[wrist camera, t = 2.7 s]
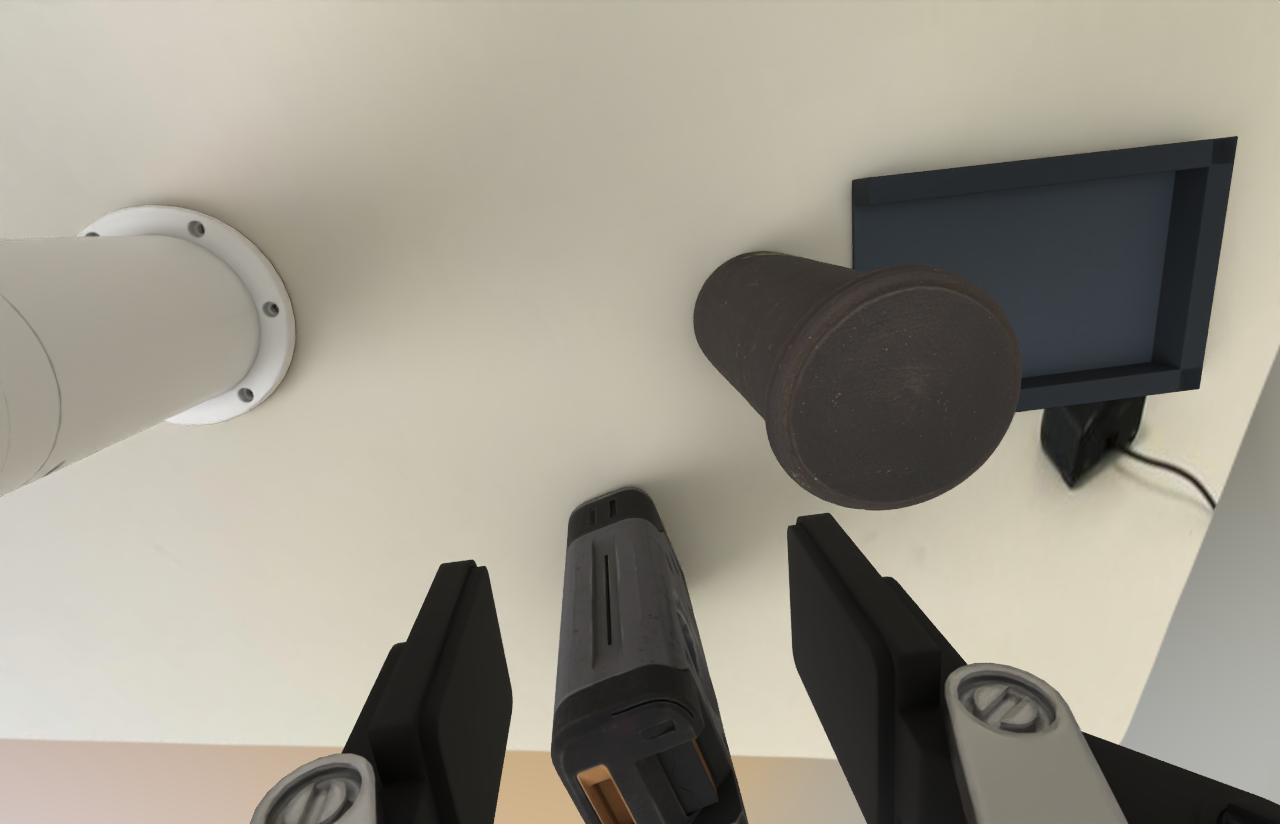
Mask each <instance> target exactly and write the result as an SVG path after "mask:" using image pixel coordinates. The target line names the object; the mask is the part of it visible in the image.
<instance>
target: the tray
mask: <svg viewBox="0 0 1280 824" xmlns="http://www.w3.org/2000/svg"><path fill="white" fill-rule="evenodd" d="M1237 139H1238V137H1237V136H1235V137H1226V138H1217V139H1208V140H1199V141H1190V142H1181V143H1172V144H1163V145H1154V146H1145V147H1137V148H1128V149H1119V150H1110V151H1101V152H1092V153H1083V154H1074V155H1065V156H1056V157H1047V158H1039V159H1030V160H1021V161H1012V162H1003V163H994V164H985V165H976V166H967V167H958V168H949V169H940V170H932V171H923V172H914V173H905V174H896V175H887V176H878V177H869V178H863V179H857V180H852V224H853V269H854V270H857V271H861V272H866V273H868V272H871V271H874V270H878V269H882V268H886V267H892V266H900V265H925V266H932V267H937V268H942V269H945V270H948V271H952V272H954V273H956V274H959V275H961V276H963V277H965V278H967V279H969V280H970V281H971V282H973V283H975V284H976V285H978V286H979V287H980V288H982V289H983V290H984V291H986V292H987V293H988V294H989V295H990V296H991V297H992V298H993V299H994V300H995V301H996V302H997V303H998V305H999V306H1000V307H1001V308H1002V310H1003V311H1004V313H1005V314H1006V316H1007V318H1008V320H1009V322H1010V323H1011V325H1012V328H1013V330H1014V332H1015V335H1016V339H1017V342H1018V345H1019V350H1020V355H1021V366H1022V376H1021V389H1020V395H1019V400H1018V404H1017V407H1016V410H1015V412H1021V411H1029V410H1037V409H1045V408H1053V407H1061V406H1068V405H1076V404H1084V403H1092V402H1100V401H1108V400H1116V399H1124V398H1131V397H1139V396H1147V395H1155V394H1163V393H1171V392H1179V391H1187V390H1194V389H1199V388H1200V381H1201V375H1202V368H1203V361H1204V355H1205V348H1206V342H1207V335H1208V329H1209V322H1210V315H1211V309H1212V302H1213V296H1214V289H1215V283H1216V276H1217V270H1218V263H1219V257H1220V250H1221V244H1222V237H1223V231H1224V224H1225V217H1226V211H1227V204H1228V198H1229V191H1230V185H1231V178H1232V172H1233V165H1234V159H1235V152H1236V146H1237Z"/></svg>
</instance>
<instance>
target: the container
mask: <svg viewBox="0 0 1280 824" xmlns="http://www.w3.org/2000/svg"><path fill="white" fill-rule="evenodd" d="M694 330H695V335H696V338H697V341H698V344H699V346H700V348H701V349H702V351H703V353H704V354H705V356H706V357H707V358H708V360H709V361H710V362H711V363H712V365H713V366H714V367H715V368H716V369H717V370H718V371H719V372H720V373H721V374H722V375H723V376H724V377H725V378H726V379H727V380H728V381H729V382H730V383H731V384H732V385H733V386H734V387H735V388H736V389H737V391H738V392H739V393H740V394H741V395H742V396H743V397H744V398H745V399H746V400H747V401H748V402H749V404H750V405H751V406H752V407H753V408H754V409H755V410H756V411H757V412H758V413H759V414H760V415H761V417H762V418H763V419H764V420H765V423H766V430H767V435H768V439H769V442H770V446H771V448H772V451H773V453H774V455H775V457H776V458H777V460H778V462H779V463H780V465H781V466H782V468H783V469H784V470H785V471H786V473H787V474H788V475H789V476H790V477H791V478H792V479H793V480H794V481H795V482H796V483H797V484H799V485H800V486H801V487H802V488H804V489H805V490H807V491H808V492H810V493H811V494H813V495H815V496H817V497H819V498H820V499H822V500H825V501H828V502H830V503H833V504H836V505H839V506H843V507H848V508H854V509H865V510H891V509H899V508H904V507H908V506H912V505H916V504H919V503H922V502H925V501H928V500H930V499H933V498H935V497H937V496H939V495H941V494H943V493H945V492H947V491H949V490H951V489H952V488H954V487H955V486H957V485H959V484H960V483H961V482H963V481H964V480H966V479H967V478H968V477H969V476H971V475H972V474H973V473H974V472H975V471H977V470H978V469H979V468H980V467H981V466H982V465H983V464H984V463H985V461H986V460H987V459H988V458H989V457H990V456H991V454H992V453H993V452H994V451H995V449H996V448H997V446H998V445H999V443H1000V442H1001V440H1002V438H1003V437H1004V435H1005V433H1006V431H1007V430H1008V428H1009V426H1010V423H1011V421H1012V419H1013V416H1014V413H1015V410H1016V407H1017V404H1018V400H1019V395H1020V389H1021V376H1022V366H1021V355H1020V350H1019V345H1018V342H1017V339H1016V335H1015V332H1014V330H1013V328H1012V325H1011V323H1010V322H1009V320H1008V318H1007V316H1006V314H1005V313H1004V311H1003V310H1002V308H1001V307H1000V306H999V305H998V303H997V302H996V301H995V300H994V299H993V298H992V297H991V296H990V295H989V294H988V293H987V292H986V291H984V290H983V289H982V288H980V287H979V286H978V285H976V284H975V283H973V282H971V281H970V280H969V279H967V278H965V277H963V276H961V275H959V274H956V273H954V272H952V271H948V270H945V269H942V268H937V267H932V266H925V265H900V266H892V267H886V268H882V269H878V270H874V271H871V272H868V273H866V272H861V271H857V270H854V269H850V268H846V267H842V266H837V265H832V264H828V263H823V262H819V261H814V260H811V259H806V258H803V257H797V256H793V255H788V254H783V253H778V252H767V251H760V252H751V253H746V254H742V255H739V256H736V257H734V258H732V259H730V260H728V261H727V262H725V263H724V264H722V265H721V266H720V267H719V268H717V269H716V270H715V271H714V272H713V273H712V274H711V275H710V277H709V278H708V279H707V280H706V282H705V283H704V285H703V287H702V289H701V290H700V293H699V295H698V298H697V300H696V304H695V309H694Z"/></svg>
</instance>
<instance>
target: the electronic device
mask: <svg viewBox="0 0 1280 824" xmlns="http://www.w3.org/2000/svg"><path fill="white" fill-rule="evenodd" d="M551 758H552V762H553V765H554V767H555V769H556V771H557V773H558V775H559V777H560V778H561V780H562V782H563V784H564V786H565V788H566V789H567V791H568V793H569V795H570V796H571V798H572V800H573V802H574V804H575V805H576V807H577V809H578V811H579V813H580V815H581V816H582V818H583V820H584V822H585V823H586V824H748V820H747V816H746V812H745V809H744V805H743V801H742V797H741V793H740V789H739V785H738V781H737V778H736V774H735V771H734V768H733V763H732V760H731V756H730V752H729V748H728V745H727V741H726V737H725V733H724V729H723V725H722V721H721V716H720V712H719V708H718V703H717V699H716V695H715V692H714V689H713V685H712V682H711V678H710V675H709V671H708V667H707V663H706V659H705V655H704V651H703V647H702V643H701V639H700V635H699V631H698V628H697V624H696V620H695V617H694V613H693V609H692V605H691V601H690V597H689V593H688V589H687V586H686V582H685V578H684V575H683V571H682V569H681V567H680V564H679V562H678V560H677V557H676V555H675V553H674V550H673V548H672V546H671V543H670V541H669V539H668V536H667V534H666V531H665V529H664V527H663V524H662V522H661V520H660V517H659V515H658V513H657V510H656V508H655V506H654V503H653V502H652V500H651V498H650V497H649V496H648V495H647V494H646V493H645V492H644V491H642V490H640V489H637V488H632V487H631V488H623V489H620V490H617V491H614V492H612V493H609V494H607V495H604V496H602V497H599V498H597V499H594V500H592V501H589V502H587V503H584V504H582V505H580V506H579V507H577V508H576V509H575V510H574V511H573V512H572V514H571V516H570V518H569V525H568V537H567V551H566V563H565V576H564V589H563V602H562V614H561V627H560V640H559V653H558V666H557V679H556V692H555V705H554V719H553V731H552V743H551Z"/></svg>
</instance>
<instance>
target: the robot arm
mask: <svg viewBox="0 0 1280 824" xmlns="http://www.w3.org/2000/svg"><path fill="white" fill-rule="evenodd" d="M202 226H204V228H205V233H204V232H203V231H202ZM275 304H276V305H277V307H278V308H279V312H277V311H276V310H275V308H274V305H275ZM294 345H295V320H294V315H293V310H292V306H291V301H290V299H289V296H288V294H287V291H286V289H285V287H284V284H283V282H282V280H281V278H280V277H279V275H278V274H277V272H276V271H275V269H274V267H273V266H272V264H271V263H270V261H269V260H268V259H267V258H266V257H265V256H264V255H263V254H262V253H261V251H260V250H259V249H258V248H257V247H256V246H255V245H254V244H253V243H252V242H251V241H249V240H248V239H247V238H246V237H244V236H243V235H242V234H241V233H239V232H238V231H237V230H236V229H234V228H232V227H230V226H228V225H227V224H225V223H223V222H221V221H220V220H218V219H216V218H214V217H211V216H208V215H206V214H203V213H200V212H197V211H195V210H191V209H186V208H180V207H174V206H162V205H143V206H134V207H125V208H122V209H119V210H116V211H113V212H110V213H107V214H105V215H103V216H101V217H100V218H98V219H96V220H95V221H93V222H91V223H90V224H88V225H87V226H86V227H85V228H84V229H83V230H82V231H81V232H79V233H78V234H77V235H76V236H75V237H61V238H27V239H0V497H1V496H3V495H5V494H7V493H9V492H11V491H14V490H16V489H18V488H20V487H22V486H24V485H27V484H29V483H31V482H33V481H35V480H37V479H40V478H42V477H44V476H46V475H48V474H50V473H52V472H55V471H57V470H59V469H61V468H63V467H65V466H68V465H70V464H72V463H74V462H76V461H78V460H81V459H83V458H85V457H87V456H89V455H91V454H93V453H96V452H98V451H100V450H102V449H104V448H106V447H109V446H111V445H113V444H115V443H117V442H119V441H122V440H124V439H126V438H128V437H130V436H132V435H134V434H137V433H139V432H141V431H143V430H145V429H147V428H150V427H152V426H154V425H156V424H158V423H160V422H165V423H172V424H179V425H186V426H190V425H210V424H214V423H219V422H224V421H228V420H230V419H232V418H235V417H237V416H239V415H242V414H244V413H246V412H248V411H249V410H251V409H253V408H254V407H256V406H258V405H259V404H261V403H262V402H263V401H264V400H265V399H266V398H267V397H269V396H270V395H271V394H272V393H273V392H274V391H275V389H276V388H277V387H278V385H279V384H280V383H281V381H282V380H283V378H284V377H285V375H286V372H287V370H288V368H289V365H290V363H291V361H292V356H293V351H294ZM250 390H251V391H252V392H253V394H254V395H253V394H251V393H250ZM787 541H788V563H789V585H790V607H791V629H792V650H793V657H794V661H795V665H796V668H797V671H798V673H799V675H800V678H801V680H802V682H803V684H804V686H805V688H806V691H807V693H808V695H809V697H810V699H811V702H812V704H813V706H814V708H815V710H816V713H817V715H818V717H819V719H820V721H821V724H822V726H823V728H824V730H825V732H826V735H827V737H828V739H829V741H830V743H831V745H832V748H833V750H834V752H835V754H836V756H837V759H838V761H839V763H840V765H841V767H842V770H843V772H844V774H845V776H846V778H847V781H848V783H849V785H850V787H851V789H852V791H853V794H854V796H855V798H856V800H857V802H858V805H859V807H860V809H861V811H862V813H863V816H864V817H865V820H866V822H867V824H1280V805H1278V804H1276V803H1274V802H1272V801H1269V800H1267V799H1265V798H1262V797H1259V796H1257V795H1254V794H1251V793H1249V792H1246V791H1243V790H1240V789H1238V788H1235V787H1232V786H1229V785H1227V784H1224V783H1221V782H1219V781H1216V780H1213V779H1210V778H1207V777H1205V776H1202V775H1199V774H1197V773H1194V772H1191V771H1188V770H1186V769H1183V768H1180V767H1177V766H1175V765H1172V764H1169V763H1166V762H1164V761H1161V760H1158V759H1156V758H1153V757H1150V756H1147V755H1145V754H1142V753H1139V752H1136V751H1134V750H1131V749H1128V748H1125V747H1123V746H1120V745H1117V744H1115V743H1112V742H1109V741H1106V740H1104V739H1101V738H1098V737H1095V736H1093V735H1090V734H1087V733H1085V732H1082V731H1081V730H1080V728H1079V726H1078V724H1077V722H1076V720H1075V718H1074V716H1073V714H1072V712H1071V710H1070V708H1069V706H1068V704H1067V703H1066V702H1065V700H1064V699H1063V698H1062V696H1061V695H1060V694H1059V692H1058V691H1056V690H1055V689H1054V688H1053V687H1051V686H1050V685H1049V684H1048V683H1047V682H1045V681H1044V680H1042V679H1040V678H1038V677H1036V676H1034V675H1032V674H1031V673H1029V672H1026V671H1023V670H1020V669H1017V668H1014V667H1011V666H1008V665H1001V664H995V663H973V664H970V665H967V663H966V662H965V661H964V660H963V659H962V657H961V656H960V655H959V654H958V653H957V652H956V650H955V649H954V648H953V647H952V646H951V644H950V643H949V642H948V641H947V640H946V639H945V637H944V636H943V635H942V634H941V633H940V631H939V630H938V629H937V628H936V627H935V626H934V624H933V623H932V622H931V621H930V620H929V618H928V617H927V616H926V615H925V614H924V613H923V611H922V610H921V609H920V608H919V607H918V605H917V604H916V603H915V602H914V601H913V600H912V598H911V597H910V596H909V595H908V594H907V593H906V591H905V590H904V589H903V588H902V587H901V585H900V584H899V583H898V582H897V581H896V580H895V579H894V578H892V577H881V575H880V574H879V573H878V572H877V571H876V569H875V568H874V567H873V566H872V564H871V563H870V562H869V561H868V559H867V558H866V557H865V556H864V555H863V553H862V552H861V551H860V550H859V548H858V547H857V546H856V545H855V544H854V542H853V541H852V540H851V539H850V537H849V536H848V535H847V534H846V532H845V531H844V530H843V529H842V528H841V526H840V525H839V524H838V523H837V521H836V520H835V519H834V518H833V516H832V515H831V514H830V513H823V514H815V515H808V516H800V517H798V518H797V522H796V525H791V526H788V529H787ZM512 704H513V701H512V689H511V683H510V678H509V673H508V668H507V663H506V658H505V654H504V649H503V644H502V639H501V634H500V629H499V624H498V619H497V614H496V609H495V604H494V599H493V594H492V589H491V584H490V579H489V574H488V570H487V568H486V567H485V566H481V567H477V565H476V563H475V561H474V560H466V561H458V562H451V563H443V564H441V565H440V567H439V569H438V571H437V574H436V576H435V578H434V580H433V583H432V585H431V587H430V589H429V592H428V594H427V596H426V598H425V601H424V603H423V605H422V607H421V610H420V612H419V614H418V616H417V619H416V621H415V623H414V625H413V628H412V630H411V632H410V634H409V637H408V639H407V641H406V642H403V643H397V644H395V645H394V646H393V647H392V649H391V650H390V652H389V654H388V656H387V658H386V660H385V662H384V665H383V667H382V669H381V671H380V673H379V675H378V677H377V679H376V681H375V684H374V686H373V688H372V690H371V692H370V694H369V696H368V698H367V701H366V703H365V705H364V707H363V709H362V711H361V713H360V715H359V717H358V720H357V722H356V724H355V726H354V728H353V730H352V732H351V734H350V736H349V739H348V741H347V743H346V745H345V747H344V749H343V751H342V753H341V754H333V755H329V756H326V757H321V758H318V759H316V760H313V761H311V762H309V763H307V764H305V765H302V766H301V767H299V768H297V769H296V770H294V771H293V772H291V773H290V774H288V775H287V776H285V777H284V778H282V779H281V780H280V781H279V782H278V783H277V784H276V785H275V786H274V787H273V788H272V789H271V790H269V791H268V792H267V794H266V795H265V797H264V798H263V799H262V800H261V802H260V803H259V805H258V806H257V807H256V809H255V812H254V815H253V817H252V820H251V822H250V824H494V817H495V811H496V805H497V799H498V793H499V786H500V780H501V775H502V768H503V763H504V757H505V751H506V745H507V739H508V733H509V726H510V720H511V714H512Z"/></svg>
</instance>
